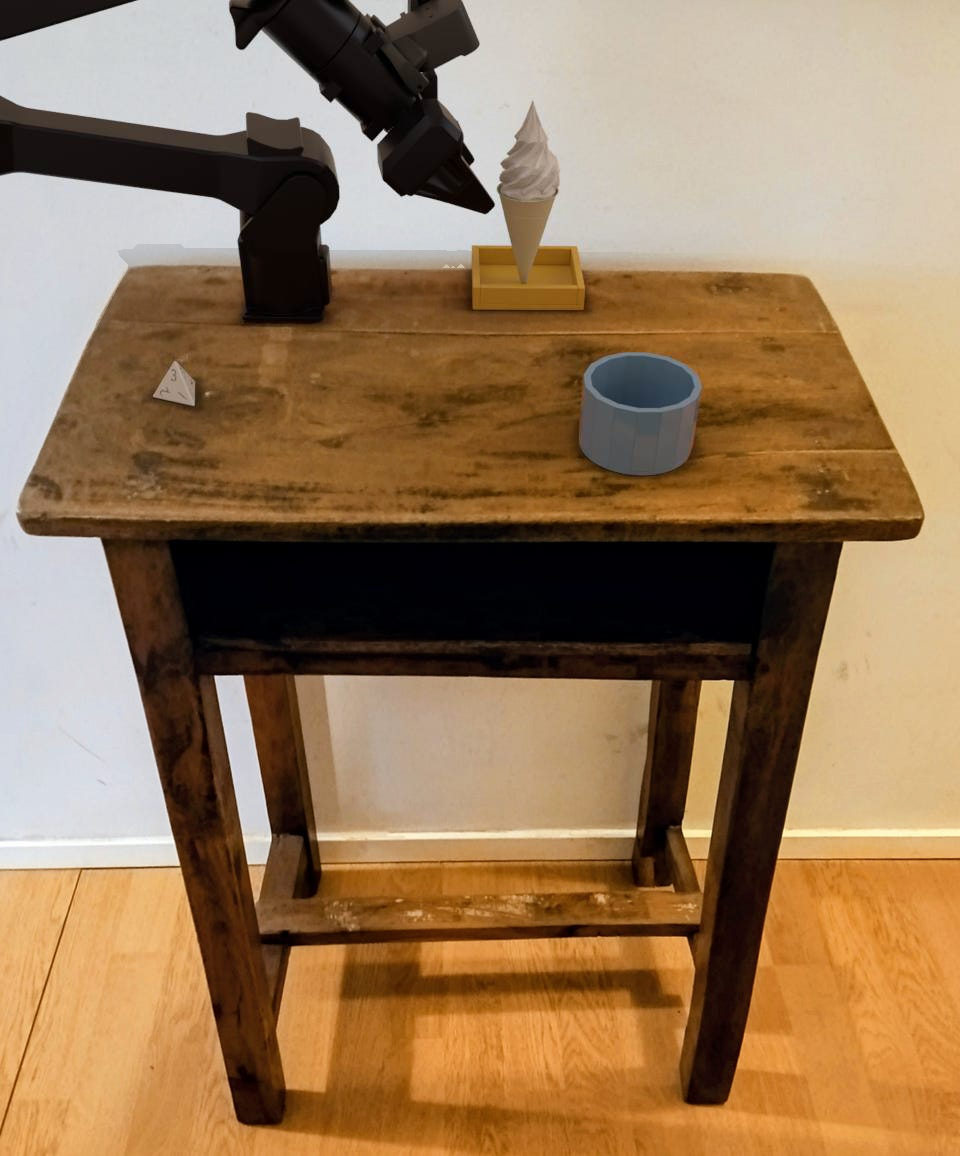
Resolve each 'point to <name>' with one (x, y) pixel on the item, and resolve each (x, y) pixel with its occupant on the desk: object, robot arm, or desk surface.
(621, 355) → the cup
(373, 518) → the desk surface
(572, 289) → the tray
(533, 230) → the ice cream cone
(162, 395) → the tetrahedral die
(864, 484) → the desk surface
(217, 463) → the desk surface
